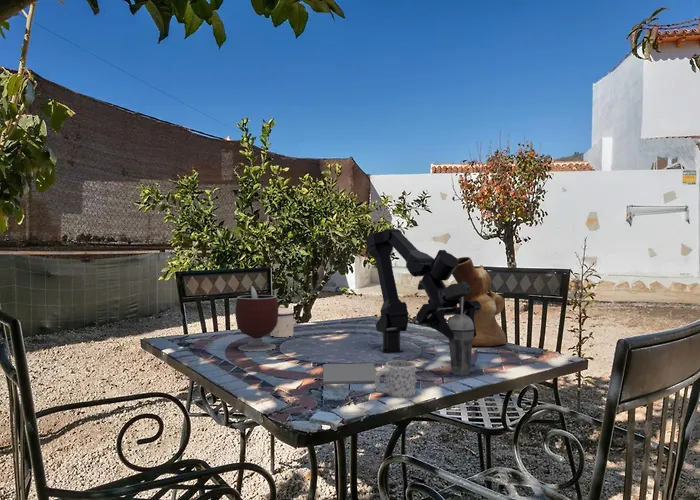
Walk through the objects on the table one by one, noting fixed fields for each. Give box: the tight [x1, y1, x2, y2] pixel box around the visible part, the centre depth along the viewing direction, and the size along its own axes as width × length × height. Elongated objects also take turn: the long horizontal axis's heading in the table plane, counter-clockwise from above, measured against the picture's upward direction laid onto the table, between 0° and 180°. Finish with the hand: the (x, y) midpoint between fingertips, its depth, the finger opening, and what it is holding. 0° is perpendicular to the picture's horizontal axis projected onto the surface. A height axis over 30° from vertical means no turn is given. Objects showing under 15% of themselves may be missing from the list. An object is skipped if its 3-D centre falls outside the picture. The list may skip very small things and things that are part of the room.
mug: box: [374, 359, 416, 398], centre depth 109 cm, size 10×7×7 cm, turn 118°
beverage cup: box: [447, 297, 475, 376], centre depth 127 cm, size 7×7×20 cm
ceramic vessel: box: [451, 256, 507, 347], centre depth 166 cm, size 16×22×30 cm
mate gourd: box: [234, 285, 279, 352], centre depth 161 cm, size 16×14×20 cm
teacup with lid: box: [269, 304, 295, 338], centre depth 182 cm, size 12×9×12 cm
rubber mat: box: [322, 362, 382, 385], centre depth 127 cm, size 18×14×1 cm
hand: (464, 337), depth 126 cm, fingers open, 7 cm apart
